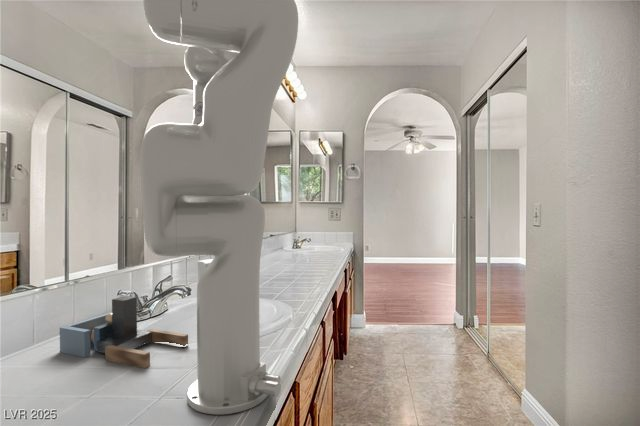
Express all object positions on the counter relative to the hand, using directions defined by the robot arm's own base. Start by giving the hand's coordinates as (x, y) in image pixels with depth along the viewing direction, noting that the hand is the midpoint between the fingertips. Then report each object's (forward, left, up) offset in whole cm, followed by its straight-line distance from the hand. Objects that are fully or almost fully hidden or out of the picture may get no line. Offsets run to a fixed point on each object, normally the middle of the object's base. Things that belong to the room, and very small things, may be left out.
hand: (211, 189), depth 86 cm
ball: (+18, +14, -31) cm, 39 cm away
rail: (+5, +14, -33) cm, 36 cm away
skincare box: (+10, -13, -34) cm, 37 cm away
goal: (+18, +14, -33) cm, 40 cm away
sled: (+12, +14, -33) cm, 38 cm away
